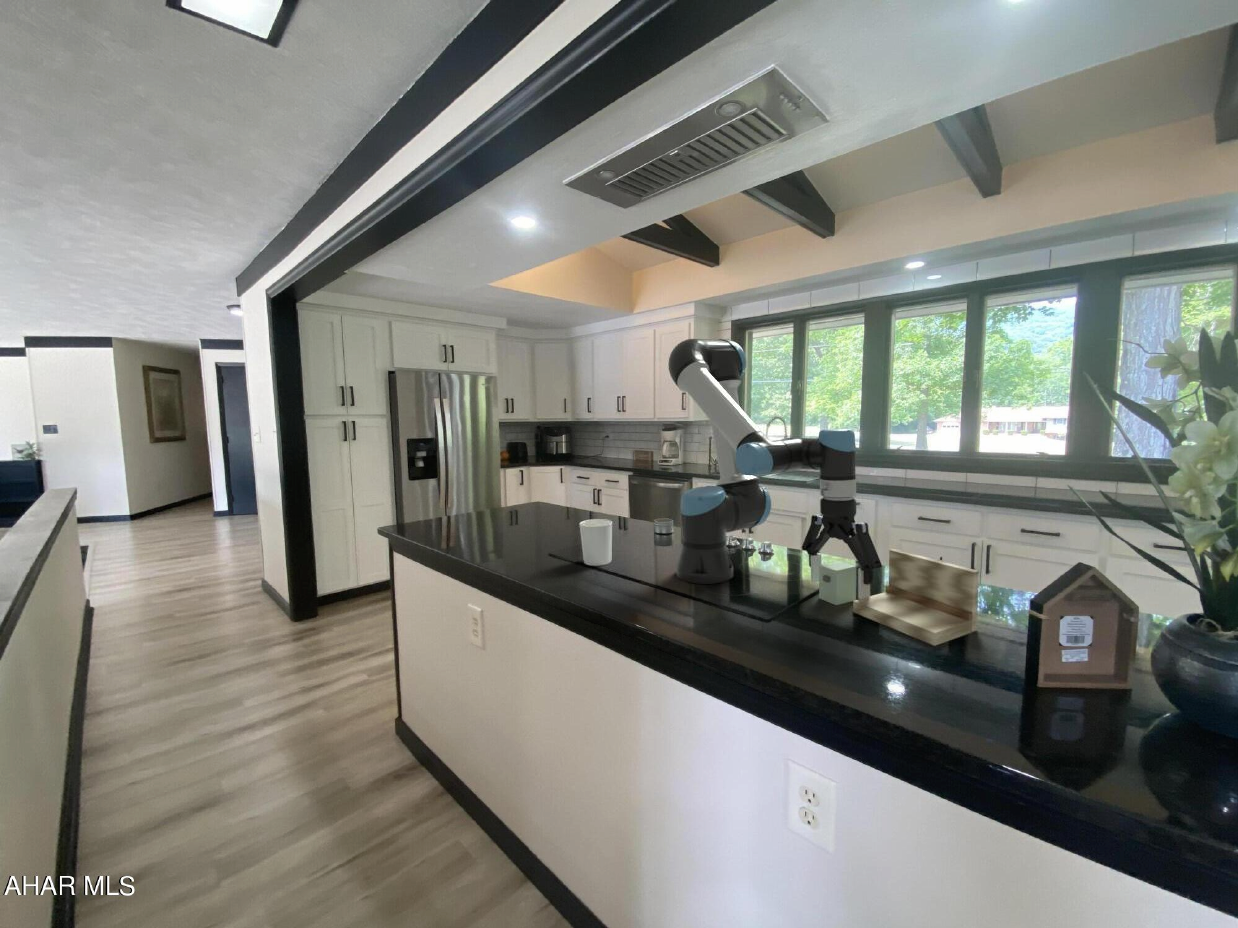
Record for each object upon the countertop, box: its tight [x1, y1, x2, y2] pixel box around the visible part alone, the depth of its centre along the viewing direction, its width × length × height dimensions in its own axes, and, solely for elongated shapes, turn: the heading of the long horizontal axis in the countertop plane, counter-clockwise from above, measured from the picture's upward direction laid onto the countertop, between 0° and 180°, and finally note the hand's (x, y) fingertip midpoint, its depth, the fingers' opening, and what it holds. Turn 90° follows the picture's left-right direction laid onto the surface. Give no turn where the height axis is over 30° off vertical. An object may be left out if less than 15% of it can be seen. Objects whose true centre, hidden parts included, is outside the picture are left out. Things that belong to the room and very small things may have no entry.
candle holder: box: [578, 518, 613, 567], centre depth 155 cm, size 10×10×12 cm
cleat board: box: [852, 548, 980, 647], centre depth 105 cm, size 18×12×12 cm
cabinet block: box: [818, 560, 857, 606], centre depth 118 cm, size 5×7×8 cm
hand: (839, 589), depth 118 cm, fingers open, 13 cm apart
